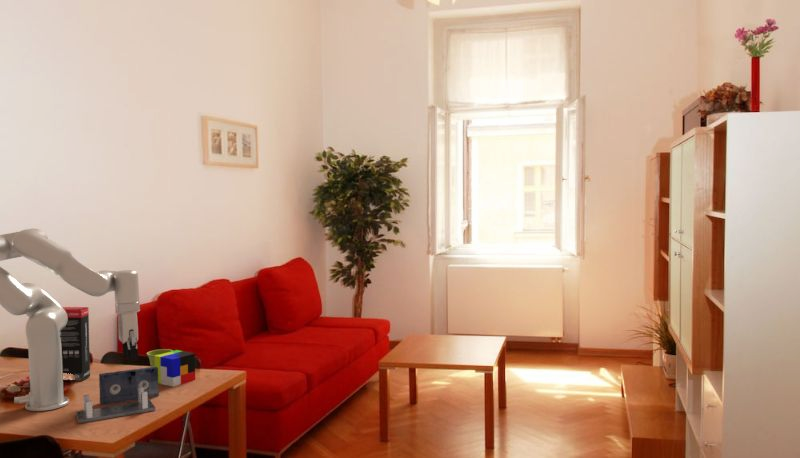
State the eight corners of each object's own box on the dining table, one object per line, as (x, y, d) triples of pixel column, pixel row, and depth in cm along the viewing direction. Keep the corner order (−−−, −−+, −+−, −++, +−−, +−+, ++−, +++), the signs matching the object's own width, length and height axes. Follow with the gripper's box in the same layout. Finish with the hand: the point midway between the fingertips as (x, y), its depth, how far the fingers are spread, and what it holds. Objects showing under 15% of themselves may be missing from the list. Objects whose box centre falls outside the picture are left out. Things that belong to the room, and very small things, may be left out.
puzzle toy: (173, 386, 235) (172, 359, 234) (155, 382, 240) (154, 355, 239) (195, 380, 243) (194, 353, 243) (177, 376, 249) (176, 350, 248)
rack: (79, 423, 197) (78, 404, 197) (75, 415, 205) (75, 396, 205) (155, 410, 209) (154, 392, 209) (149, 402, 217) (149, 385, 216)
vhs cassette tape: (157, 394, 226) (157, 365, 226) (159, 396, 224) (158, 367, 223) (99, 403, 217) (98, 373, 217) (100, 405, 215) (99, 375, 214)
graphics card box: (92, 376, 248) (89, 305, 247) (83, 381, 241) (81, 308, 240) (46, 377, 248) (43, 305, 246) (36, 382, 241) (33, 309, 239)
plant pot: (141, 376, 248) (141, 353, 248) (159, 370, 257) (159, 348, 256) (161, 378, 245) (160, 355, 244) (178, 372, 253) (178, 350, 253)
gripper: (111, 305, 224) (114, 354, 225) (119, 312, 209) (122, 365, 210) (135, 302, 228) (137, 351, 229) (144, 309, 213) (147, 361, 214)
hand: (130, 357), depth 220 cm, fingers open, 9 cm apart
